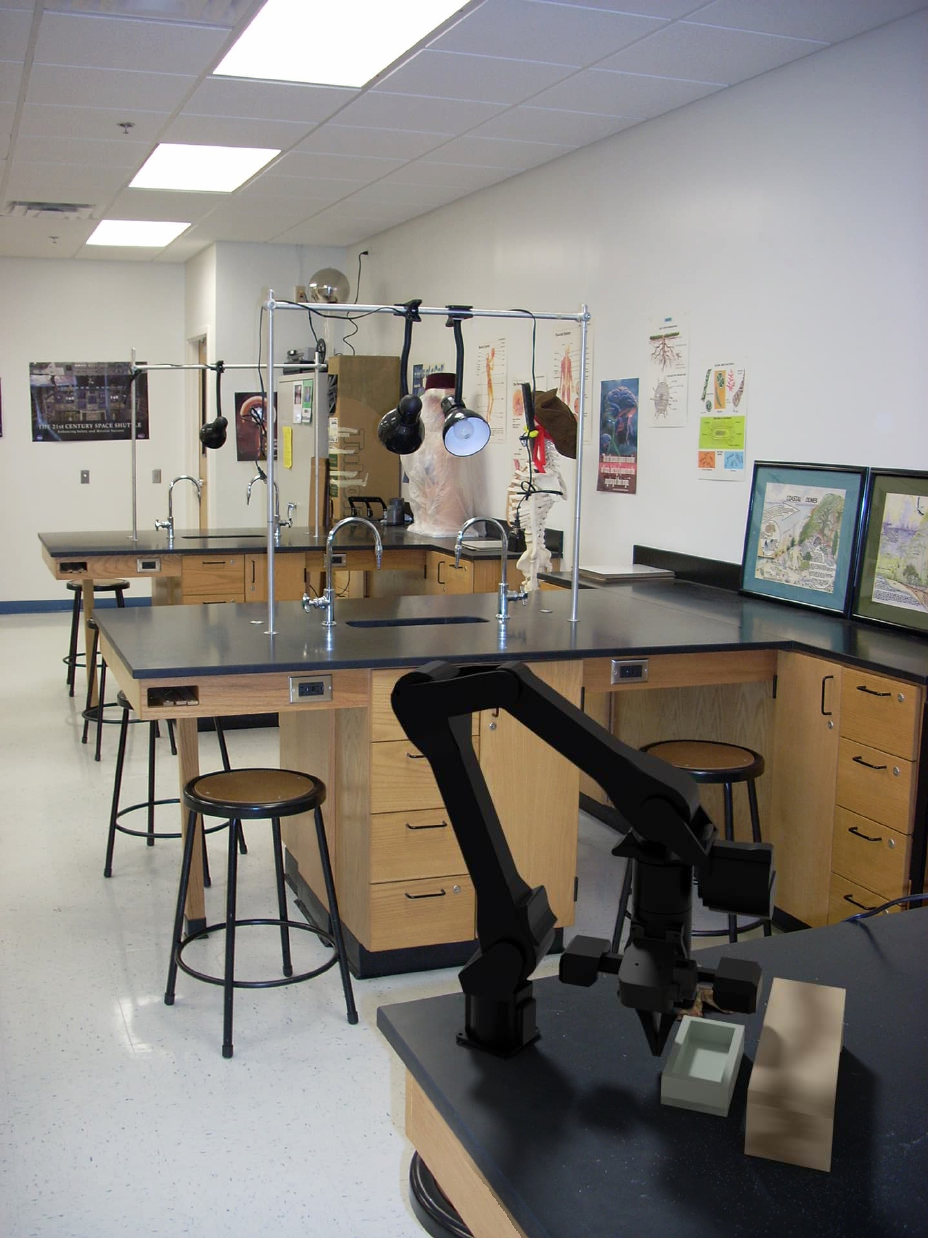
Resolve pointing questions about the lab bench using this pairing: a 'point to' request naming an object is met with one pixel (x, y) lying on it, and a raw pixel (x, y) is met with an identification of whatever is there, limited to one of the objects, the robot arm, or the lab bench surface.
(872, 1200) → the lab bench surface
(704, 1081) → the tray
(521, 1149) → the lab bench surface
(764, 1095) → the tan rectangular block
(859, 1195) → the lab bench surface
